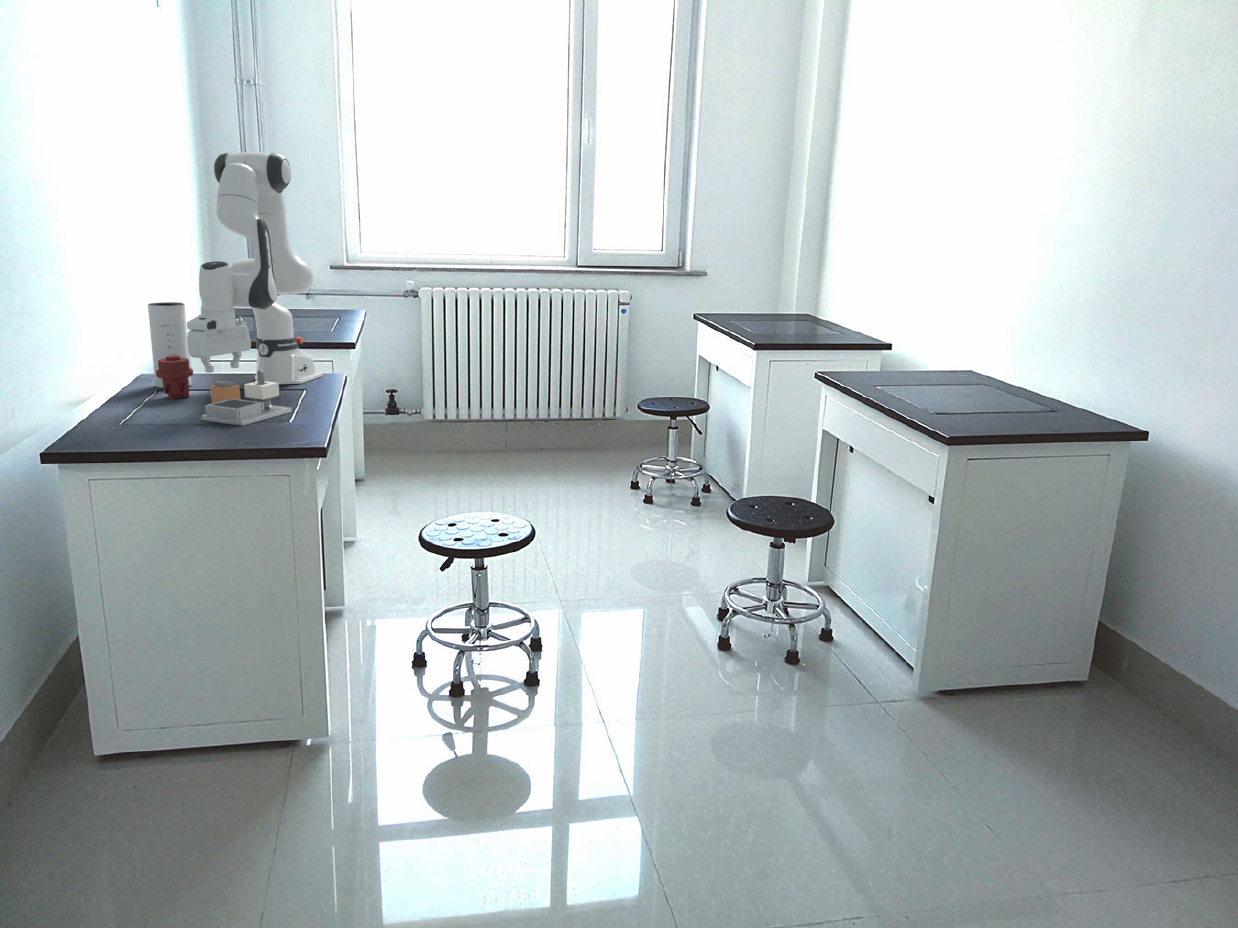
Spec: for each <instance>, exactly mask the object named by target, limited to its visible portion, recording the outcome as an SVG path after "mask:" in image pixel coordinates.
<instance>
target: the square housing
mask: <svg viewBox="0 0 1238 928" xmlns="http://www.w3.org/2000/svg"><path fill="white" fill-rule="evenodd" d="M279 386H280V384H279V383H275V382H267V381H265V384H264V385H258V381H257V382H255V381H253V382H248V383H245V384H244V385H243V387H244V389H243V390H244V397H245V398H247V399H248V398H249V399H254V398H255V399H267V398H271V399H272V398H275V397H278V396H280V387H279Z"/></svg>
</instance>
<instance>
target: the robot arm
mask: <svg viewBox="0 0 1238 928" xmlns="http://www.w3.org/2000/svg"><path fill="white" fill-rule="evenodd" d="M213 172H214V176H215V179H216V181H217V183H218V184H219V185H218V189H217V198H216V216H217V219H218V220H219V222H220V223H221V225H223V226H224V228H226V229H227V230H229V231H231V232H232V233H235V234H237V235H238V236H241V237H244V238H246V239H248V240H250V242H251V243H252V246H253V256H254V258H252V257H251V258H245V259H239V260H235V261H234V262H233V263H232V264H231V266H230V265H229V263H228V262H225V261H219V260H218V261H214V260H213V261H208V262H204V263H203V264H201V265H200V267H199V274H198V290H199V291H198V292H199V297H200V301H201V307H200V314H199V315H198V316H196V317H194V318H193V319H192V318H191V319H190V320H189V321H186V328H187V329H188V330H189V331H187V332H188V333H187V341H188V352H189V357H191V358H195V359H200V361H201V363H202V365H203V366H204V372H205V373H209V374H211V373H214V372H215V370H214V365H212V363H211V362H210V361H211V357H214V356H222V355H227V354H228V355H229V354H232V356H233V357H232V361H230V362H229V363H230V368H231V369H238V368H239V367H240V364H239V363H240V360H241V358H242V352H247V351H250V350H251V347H252V342H251V341H252V340H251V337H250V332H249V328H248V323H247V322H246V320H244V319H243V318H238V319H237V318H236V309H235V308H251V309H252V311H253V315H254V319H255V325H256V336H257V337H256V340H255V344H256V350H257V354H256V374H255V375H254V380H255V381H254V382H257V381H258V378H257V371H259V370H263V371H264V379H265V381H267V382H275V383H279V385H292V384H293V385H294V384H295V385H296V384H297V385H299V384H300V385H301V384H305V383H307V382H310V381H312V380H315V379H319V378H321V377H323V372H320V371H317V370H316V367H315V361H314V359H313V358H312V357H311V356H310V355H309V354H307V353H306V352H304V351H303V350H302V349H300V348H299V344H302V345H303V344H304V343H303V342H304V339H303V337H302V336H301V337H299V336H297V337H295V336H294V322H293V315H292V313H291V311H290V310H289V309H288V308H286V307H285V306H283V305H281V304H279V303H278V302H277V297H278V295H289V296H290V295H292V296H293V295H297V294H299V295H300V294H303V293H307V292H309V290H310V289H311V287H312V285H313V281H314V275H313V274H314V273H313V271H312V269H311V267H310V266H309V264H307V263H306V262H305V261H304V260H302V259H301V258H300V256H299V255H297V253H296V252H295V250H294V249H293V247H292V245H291V241H290V238H289V233H288V226H287V216H286V206H285V199H284V194H283V191H284V190H285V189H286V188H287V187H288V186H289V184H290V182H291V179H292V177H291V175H292V172H291V165H290V163H289V161H288V159H287V158H286V157H285V155H283V154H279V153H275V152H271V153H268V152H261V151H249V152H248V151H247V152H244V151H243V152H225V153H220V154H219V155H218V157H217V158H216V159H215V161H214V164H213Z"/></svg>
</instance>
